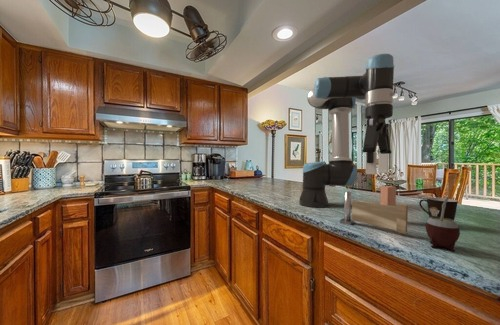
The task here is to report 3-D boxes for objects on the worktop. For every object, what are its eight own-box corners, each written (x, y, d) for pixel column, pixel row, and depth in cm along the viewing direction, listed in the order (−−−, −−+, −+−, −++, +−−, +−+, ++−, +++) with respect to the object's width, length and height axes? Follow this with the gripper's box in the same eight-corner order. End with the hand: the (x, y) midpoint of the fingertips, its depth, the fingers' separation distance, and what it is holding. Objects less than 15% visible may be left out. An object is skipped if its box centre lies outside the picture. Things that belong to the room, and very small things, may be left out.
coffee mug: (463, 230, 73) (464, 202, 73) (435, 228, 75) (436, 201, 75) (440, 220, 85) (441, 196, 85) (416, 219, 86) (417, 195, 86)
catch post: (387, 222, 81) (387, 187, 81) (380, 220, 85) (380, 185, 85) (395, 222, 82) (395, 187, 82) (387, 219, 85) (388, 185, 85)
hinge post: (344, 220, 84) (344, 190, 84) (354, 222, 81) (355, 192, 81) (339, 222, 81) (340, 191, 81) (350, 224, 78) (351, 193, 78)
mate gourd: (439, 241, 63) (440, 192, 62) (470, 253, 55) (471, 197, 55) (417, 243, 62) (418, 192, 61) (446, 255, 54) (447, 197, 54)
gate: (353, 220, 80) (354, 197, 80) (407, 232, 68) (407, 204, 68) (351, 221, 79) (351, 198, 78) (405, 234, 66) (406, 205, 66)
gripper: (380, 95, 56) (378, 175, 56) (401, 109, 72) (400, 172, 72) (351, 100, 61) (350, 174, 62) (377, 113, 77) (376, 171, 78)
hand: (377, 173), depth 67 cm, fingers open, 11 cm apart
